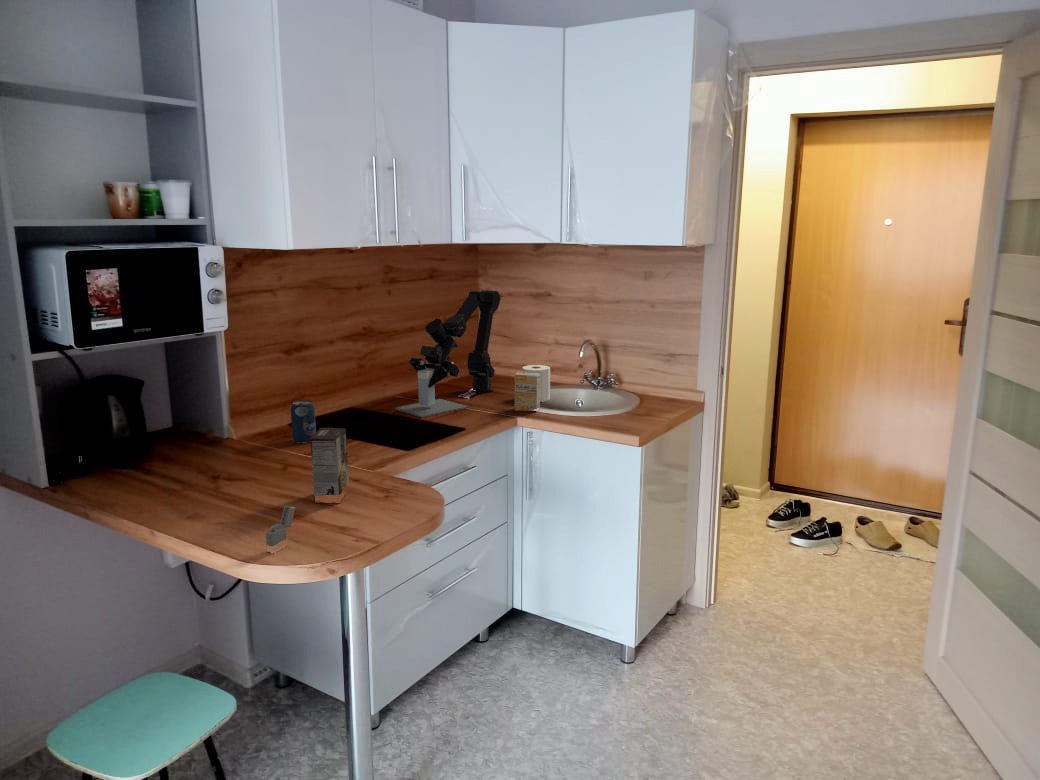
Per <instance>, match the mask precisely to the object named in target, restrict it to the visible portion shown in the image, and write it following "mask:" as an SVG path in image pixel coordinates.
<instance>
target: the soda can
mask: <svg viewBox="0 0 1040 780" xmlns="http://www.w3.org/2000/svg"><path fill="white" fill-rule="evenodd" d="M315 409H316V408H315V405H314V404H313V401H312V400H307V399H306V400H305V399H304V400H302V399H301V400H296V401H293V402H292V404H291V406H290V421H291V435H292V437H291V438H292V439H293V441H294V442H295V441H296V442H310V441H311V440H310V438H311V437H312V436H313V435H314V434H315V433H316V432H317V424H316V412H315V411H316V410H315ZM296 442H295V443H296Z"/></svg>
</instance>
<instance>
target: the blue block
mask: <svg viewBox="0 0 1040 780" xmlns="http://www.w3.org/2000/svg"><path fill="white" fill-rule="evenodd" d="M433 373H434V369H423V370H419V371H418V372H417V385H418V386H417V387H418V403H419V405H426V406H429V405H432V404H435V400H436V392H435V391H436V390H435V385H436V384H435V385H433V386H432V387H430V388H429V387H428V384H429V382H430V379H431V377H432V375H433Z"/></svg>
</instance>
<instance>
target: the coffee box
mask: <svg viewBox="0 0 1040 780" xmlns="http://www.w3.org/2000/svg"><path fill="white" fill-rule="evenodd" d="M310 440H311V443H310V451H311V452H310V453H311V468H312V469H311V471H312V484H313V497H314V496H323V495H340V494H341V493H342V491H343V490H344V488H345V487H346V486H347V484H348V482H349V483H350V481H349V480H350V479H349V478H350V477H349V461H348V446H347V445H348V444H347V429H346V428H341V427H340V428H338V427H320V428H319V429H318V430H316V433H315V434H314V435H313V436H312V437H311V438H310Z"/></svg>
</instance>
